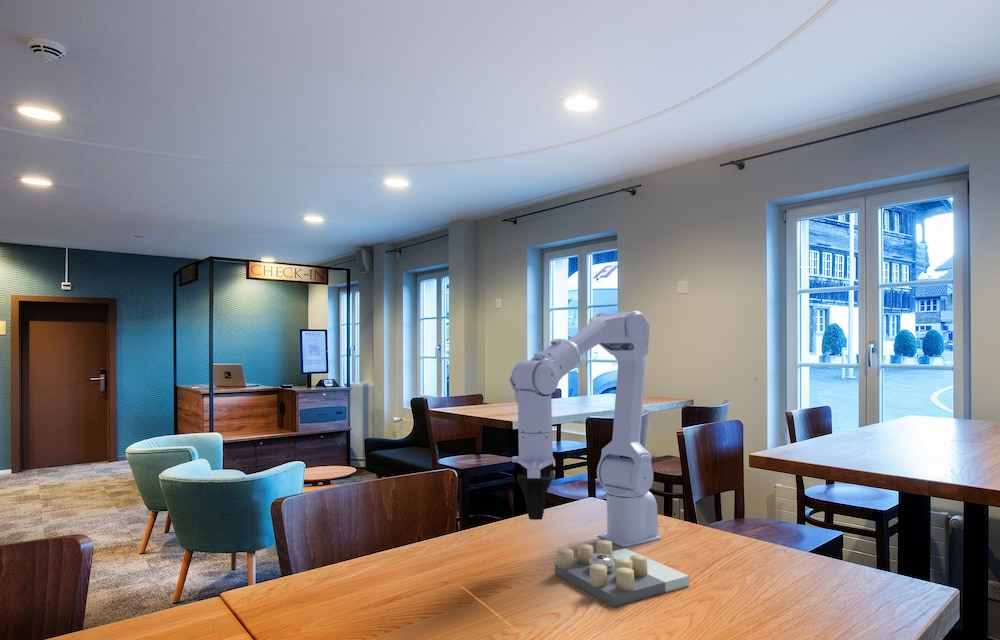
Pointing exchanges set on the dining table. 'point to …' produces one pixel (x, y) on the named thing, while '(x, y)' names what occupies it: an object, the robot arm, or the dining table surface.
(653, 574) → the board
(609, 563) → the steel nut
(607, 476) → the robot arm
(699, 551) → the dining table surface
